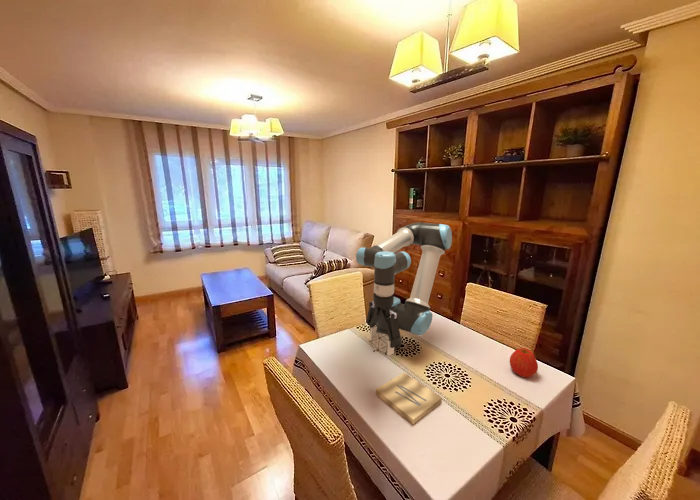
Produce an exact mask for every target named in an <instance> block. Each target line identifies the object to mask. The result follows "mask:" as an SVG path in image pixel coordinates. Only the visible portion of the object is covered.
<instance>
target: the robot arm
mask: <svg viewBox="0 0 700 500" xmlns="http://www.w3.org/2000/svg"><path fill="white" fill-rule="evenodd" d="M452 241H453V233H452V229H451V227H450V225H448V224H442V223H431V222H423V221H421V222H413V223H410V224H407V225H405V226H402V227H400V228H399V229H397V231H396V233H394V234H392V235H390V236H389V237H387V238H385V239H384V240H381V241H379V242H378V243H375V244H374V245H373V246H371V247H360V248H358V249H357V251H356V253H355V260H356V262H357V264H358V265H361V266H364V267H368V268H370V267H371V268H373V271H374V272H373V275H374V276H373V277H374V279H373V295H372V296H373V297H372V298H373V301H369V304H368V305H369V307H368V312H367V316H366V324H368V327H369V341H371V340H372V339H373V337H374V336H375V334H376V333H377V332H379V333H384V334H388V336H389V339H388V348H387V352H386V356H391V355H394V354H395V350H397V349H399V348H400V347H402V343H403V339H402V336H401V332H400V330H402V331H405V332H408V333H411V334H413V335H418V336H423V335H425V334H426V333H427V332H428V330H429V329H430V327H431V324H432V321H433V313H432V311H431V306H430V305H429V300H430V296H431V292H432V289H433V285H434V282H435V277H436V274H437V269H438V266H439V262H440V259H441V256H442V255H445V253H446V250H450V249H451V247H452V243H453V242H452ZM411 245H417V246H420V249H421V251H422V253H421V257H420V261H419V263H418V266H417V267H418V268H417V271H416V275H415V278H414V282H413V285H412V289H411V292H410V297H409V298H407V299H406V300H405V301H404V303H402V302H401V299H400V298H398V297H396V296H395V295H394V293H395V278H396V277H395V276H396V275H397V274H399V273H400V274H401V272H404V271H406V270H407V269H409V268H410V266H411V264H412V259H411V256H410V254H409V253H407V252H406V251H403V250H402V251H400V250H401V249H402V248H403V247H408V246H411ZM376 330H377V332H376ZM369 343H370V344H372V343H371V342H369Z"/></svg>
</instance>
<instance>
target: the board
mask: <svg viewBox="0 0 700 500" xmlns="http://www.w3.org/2000/svg"><path fill="white" fill-rule="evenodd" d="M375 395H376V396H378V397H379V398H380V399H381V400H383V402H385V403H386V404H388V406H390V407H391V408H392V409H393V410H395V411H396V413H398V414H399V415H401V416H402V417H403V418H404V419H405V420H407V421H408V422H409V423H410V424H411V425H415V424H416V423H418V422H419V421H420V420H422V418H424V416H427V414H428V413H430V412H432V410H433V409H435V408H436V407H437V406H439V405H440V404H441V403H442V400H443V397H442V396H440V395H439V394H437V393H435V392H434V391H433V390H432V389H429V388H428V387H426V386H425V385H424V384H423V383H421V382H419V381H418V380H416V379H415V378H414V377H413V376H412V377H411V376H410V375H409V374H407V373H406V372H402V373H401V374H398V375H397V376H395V377H394V378H391V379H390V380H389V381H387V382H385V383H384V384H382V385H380V386H379V387H376V389H375Z"/></svg>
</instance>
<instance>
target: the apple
mask: <svg viewBox="0 0 700 500" xmlns="http://www.w3.org/2000/svg"><path fill="white" fill-rule="evenodd" d="M509 364H510V368H511V370H512V371H513V372H514V373H515V374H517V376H520V377H522V378H523V377H524V378H532V377H534V376H535V375H536V374H537V373H538V370H539V365H538V362H537V358H536V356H535V354H534V353H533V352H532V351H531V350H530V349H528V348H525V347H523V348H522V347H521V348H516V350H514V351H513V352H512V354H510V357H509Z"/></svg>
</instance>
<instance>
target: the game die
mask: <svg viewBox="0 0 700 500" xmlns="http://www.w3.org/2000/svg"><path fill="white" fill-rule="evenodd" d="M376 332H377V330H376ZM388 339H389V336H388V334H384V333H379V332H377V333H376V334H375V336H374V337H373V339H372V340H371V341H370V340H368V342H369V343H370V342H371V343H370V344H371V345H372V349H373V351H372V353H375V352H379V353H383V354H384V356H387V348H388Z"/></svg>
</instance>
